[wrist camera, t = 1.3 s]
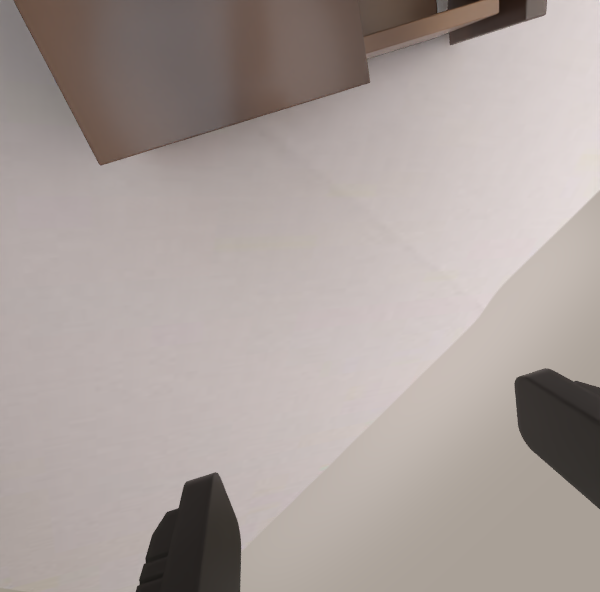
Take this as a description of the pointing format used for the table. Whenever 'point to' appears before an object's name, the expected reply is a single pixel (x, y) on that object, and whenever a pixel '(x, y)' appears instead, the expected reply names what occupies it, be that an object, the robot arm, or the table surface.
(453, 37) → the drawer
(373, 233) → the table surface
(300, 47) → the cabinet
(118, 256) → the table surface
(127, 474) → the table surface
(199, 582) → the robot arm
